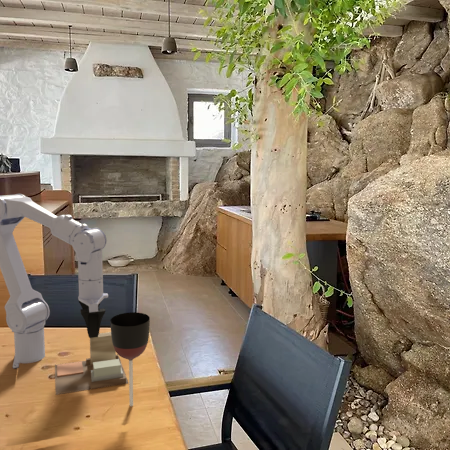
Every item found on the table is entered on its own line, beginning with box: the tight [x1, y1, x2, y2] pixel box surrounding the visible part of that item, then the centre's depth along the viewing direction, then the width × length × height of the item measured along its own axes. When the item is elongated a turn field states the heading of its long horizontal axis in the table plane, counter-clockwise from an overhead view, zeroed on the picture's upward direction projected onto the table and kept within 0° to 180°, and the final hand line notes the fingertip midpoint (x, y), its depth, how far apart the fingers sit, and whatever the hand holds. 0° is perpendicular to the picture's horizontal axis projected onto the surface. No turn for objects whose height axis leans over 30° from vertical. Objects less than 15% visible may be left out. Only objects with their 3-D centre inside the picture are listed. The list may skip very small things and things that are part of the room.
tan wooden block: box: [89, 331, 117, 365], centre depth 114 cm, size 2×6×8 cm, turn 111°
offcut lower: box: [91, 368, 123, 382], centre depth 107 cm, size 4×7×2 cm, turn 111°
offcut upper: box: [93, 359, 121, 377], centre depth 107 cm, size 4×6×2 cm, turn 111°
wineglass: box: [109, 311, 151, 407], centre depth 95 cm, size 8×9×20 cm
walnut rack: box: [54, 354, 129, 396], centre depth 110 cm, size 16×16×2 cm
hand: (92, 331), depth 112 cm, fingers open, 7 cm apart
